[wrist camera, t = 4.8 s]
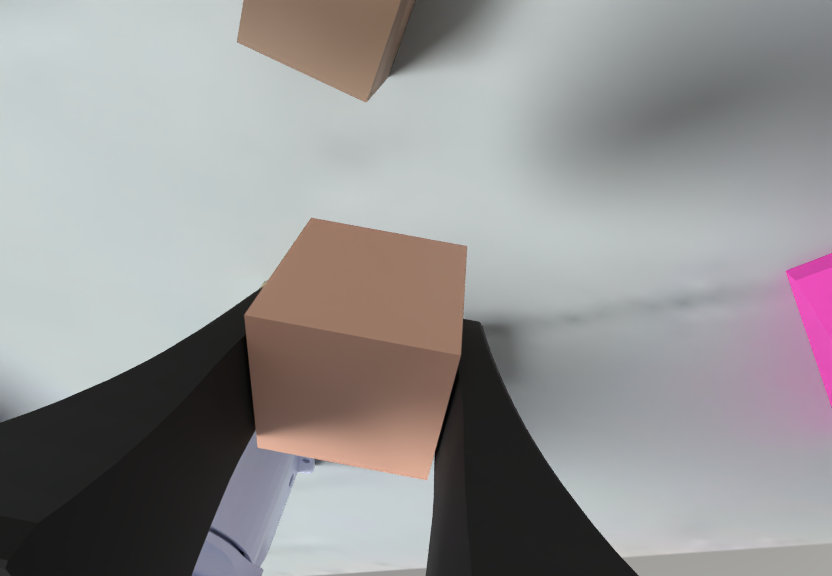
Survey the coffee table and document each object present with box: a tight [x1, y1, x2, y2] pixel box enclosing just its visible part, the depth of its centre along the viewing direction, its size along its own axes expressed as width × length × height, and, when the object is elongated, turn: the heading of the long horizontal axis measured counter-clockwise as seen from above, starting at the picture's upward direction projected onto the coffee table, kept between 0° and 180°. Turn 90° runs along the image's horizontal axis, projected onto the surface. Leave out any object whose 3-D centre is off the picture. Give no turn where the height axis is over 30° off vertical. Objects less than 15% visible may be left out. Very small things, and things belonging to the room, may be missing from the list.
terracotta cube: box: [244, 218, 467, 480], centre depth 11 cm, size 4×4×4 cm
